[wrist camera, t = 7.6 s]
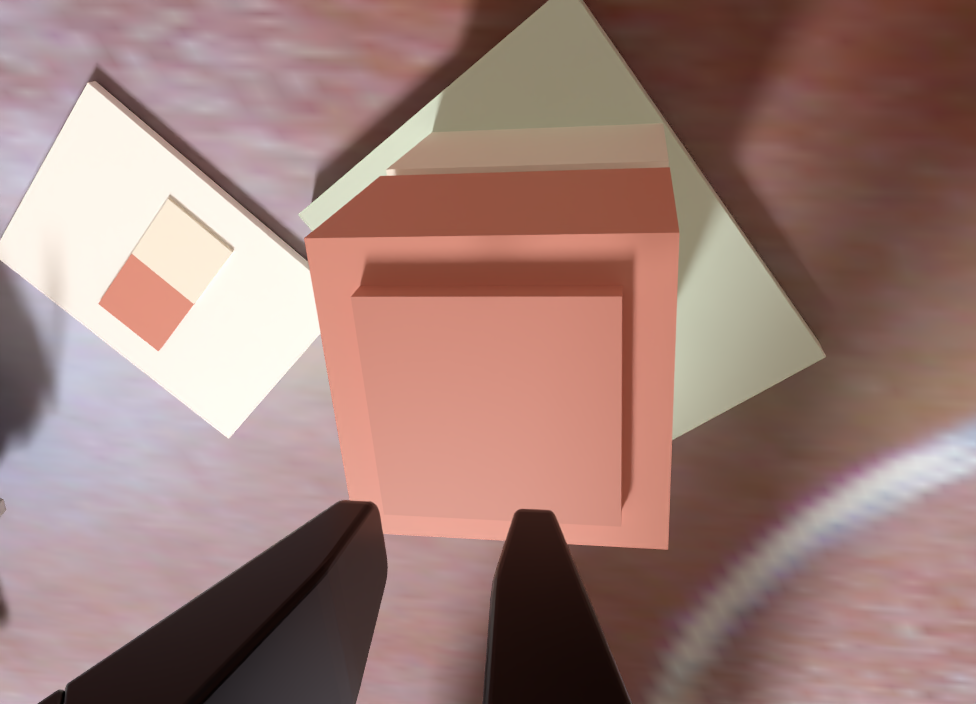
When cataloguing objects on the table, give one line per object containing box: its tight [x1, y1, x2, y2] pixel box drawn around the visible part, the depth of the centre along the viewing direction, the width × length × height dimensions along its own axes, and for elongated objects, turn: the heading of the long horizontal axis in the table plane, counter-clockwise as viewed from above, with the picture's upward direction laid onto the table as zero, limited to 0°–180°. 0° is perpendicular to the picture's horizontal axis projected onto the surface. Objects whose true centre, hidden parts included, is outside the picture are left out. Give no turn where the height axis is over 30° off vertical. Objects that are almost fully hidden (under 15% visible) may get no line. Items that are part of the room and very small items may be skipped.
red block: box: [304, 167, 679, 550], centre depth 13 cm, size 5×5×4 cm
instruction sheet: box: [0, 81, 320, 439], centre depth 21 cm, size 8×6×1 cm
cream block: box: [386, 123, 669, 176], centre depth 16 cm, size 5×5×4 cm
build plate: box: [298, 0, 826, 440], centre depth 19 cm, size 10×8×1 cm
